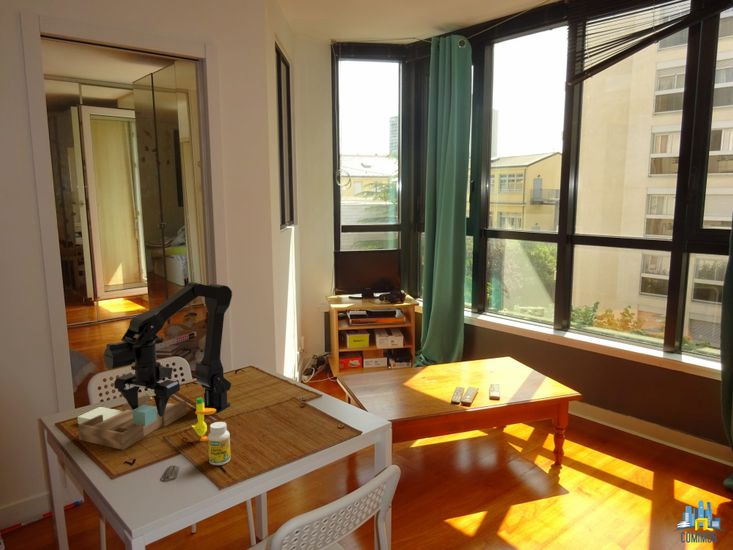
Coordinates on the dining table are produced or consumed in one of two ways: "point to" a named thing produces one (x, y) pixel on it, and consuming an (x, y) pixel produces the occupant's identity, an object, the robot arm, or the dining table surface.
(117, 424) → the box
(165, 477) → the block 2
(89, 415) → the board
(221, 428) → the supplement bottle
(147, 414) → the block
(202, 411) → the toy figure
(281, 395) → the dining table surface
